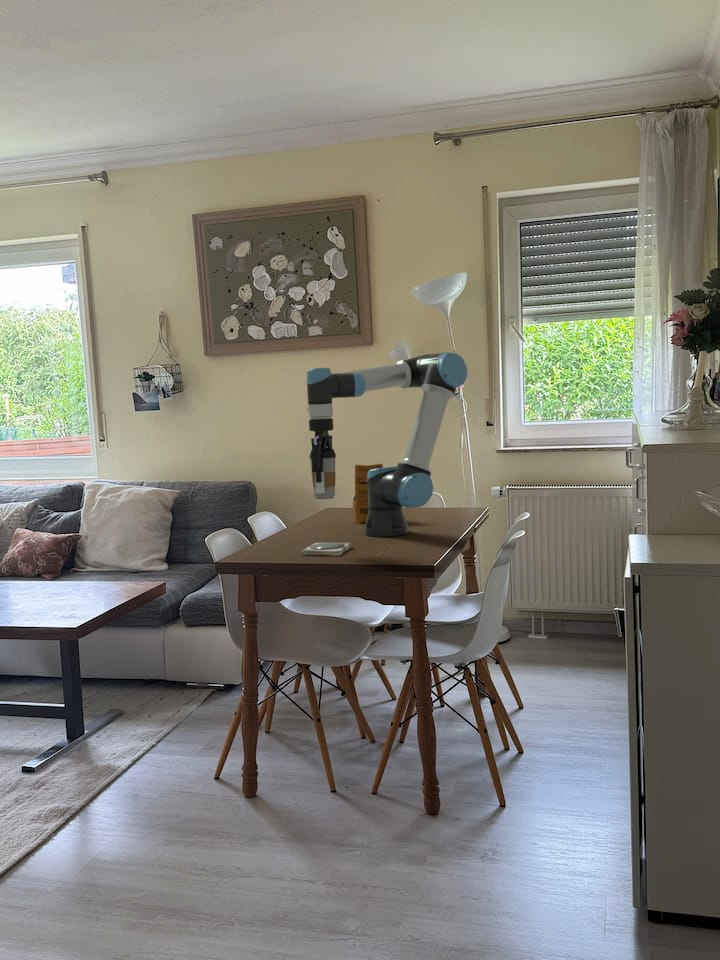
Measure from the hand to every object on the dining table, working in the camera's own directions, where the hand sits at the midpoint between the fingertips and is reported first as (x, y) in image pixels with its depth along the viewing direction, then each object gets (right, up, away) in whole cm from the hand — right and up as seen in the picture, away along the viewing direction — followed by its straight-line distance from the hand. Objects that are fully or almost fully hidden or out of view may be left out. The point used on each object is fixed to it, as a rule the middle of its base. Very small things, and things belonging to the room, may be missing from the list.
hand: (324, 491), depth 268 cm
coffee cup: (0, -2, 0) cm, 2 cm away
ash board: (+1, -19, +2) cm, 19 cm away
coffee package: (+15, -13, +59) cm, 62 cm away
